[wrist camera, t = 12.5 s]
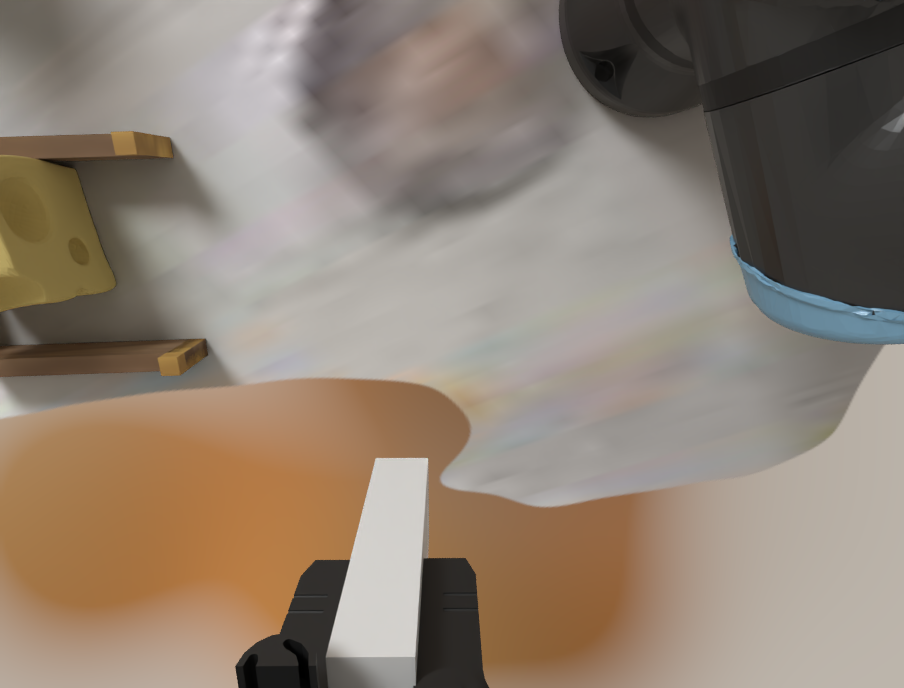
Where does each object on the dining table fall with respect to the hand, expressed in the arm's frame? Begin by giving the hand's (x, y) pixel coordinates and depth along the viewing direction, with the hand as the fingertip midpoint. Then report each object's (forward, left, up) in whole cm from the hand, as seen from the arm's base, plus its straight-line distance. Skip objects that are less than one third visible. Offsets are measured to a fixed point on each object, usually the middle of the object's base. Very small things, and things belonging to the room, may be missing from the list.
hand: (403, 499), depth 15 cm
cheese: (-6, -32, -32) cm, 45 cm away
